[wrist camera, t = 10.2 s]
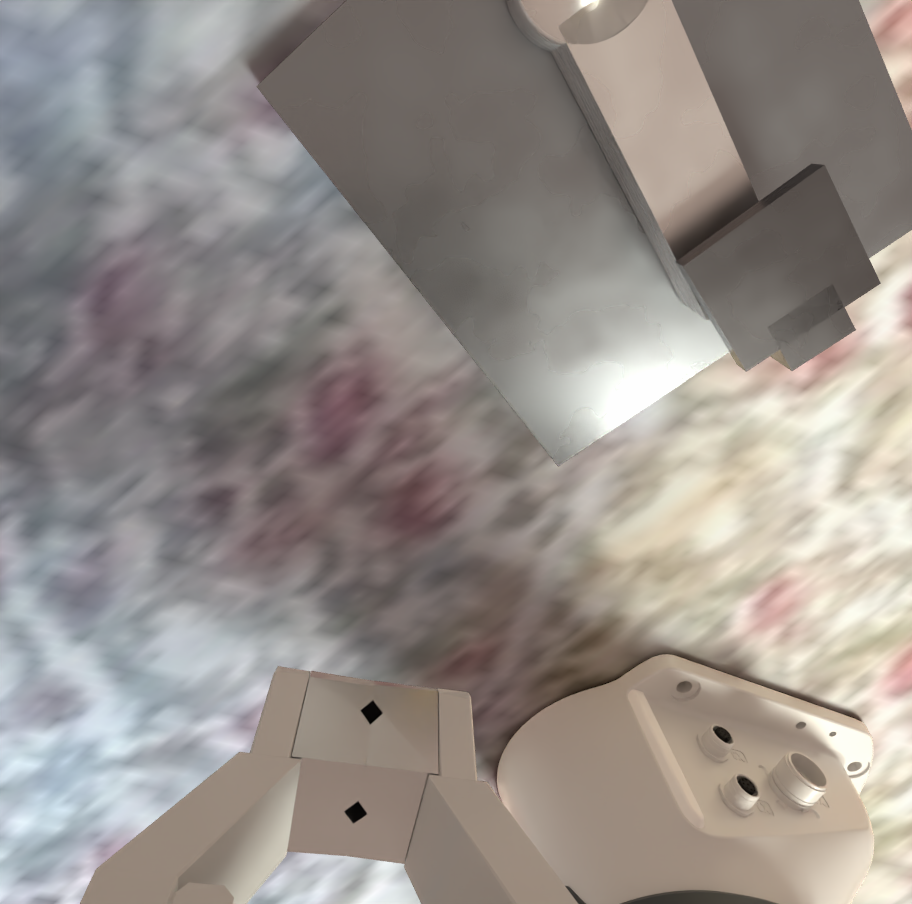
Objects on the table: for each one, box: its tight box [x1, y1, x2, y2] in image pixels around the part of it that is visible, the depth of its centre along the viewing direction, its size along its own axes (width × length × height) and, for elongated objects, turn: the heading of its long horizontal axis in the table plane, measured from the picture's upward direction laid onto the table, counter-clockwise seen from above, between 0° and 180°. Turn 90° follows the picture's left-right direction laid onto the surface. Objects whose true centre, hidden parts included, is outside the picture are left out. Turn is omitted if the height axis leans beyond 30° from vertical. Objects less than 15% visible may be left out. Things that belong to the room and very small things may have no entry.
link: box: [506, 0, 759, 320], centre depth 23 cm, size 14×4×3 cm, turn 34°
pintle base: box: [257, 0, 912, 466], centre depth 23 cm, size 18×19×6 cm
